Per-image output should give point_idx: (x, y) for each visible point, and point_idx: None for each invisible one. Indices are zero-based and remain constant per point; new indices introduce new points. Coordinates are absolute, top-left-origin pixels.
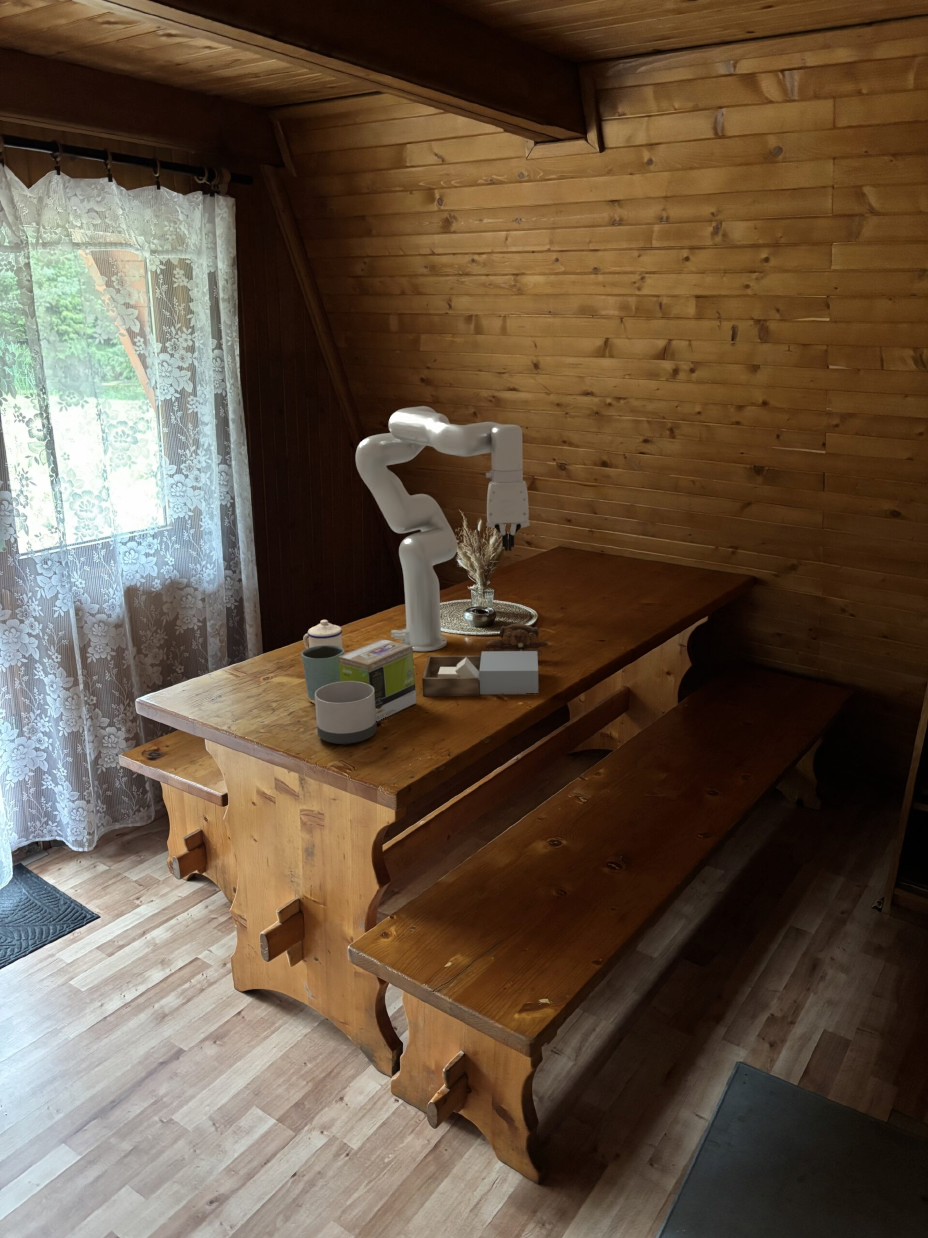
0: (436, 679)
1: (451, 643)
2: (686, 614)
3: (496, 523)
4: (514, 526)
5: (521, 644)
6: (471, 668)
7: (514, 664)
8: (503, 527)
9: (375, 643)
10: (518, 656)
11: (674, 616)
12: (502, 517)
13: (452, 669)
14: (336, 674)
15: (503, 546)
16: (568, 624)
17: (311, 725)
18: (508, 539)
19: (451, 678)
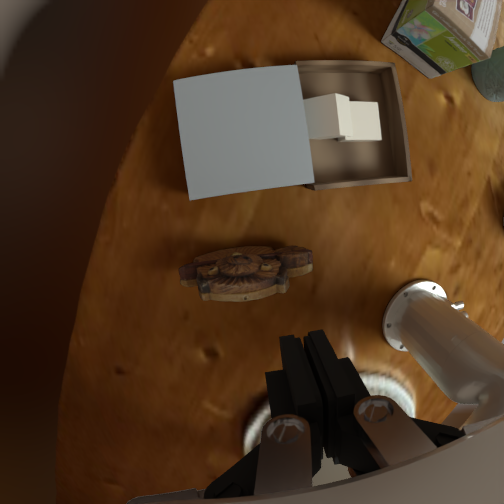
0: (371, 61)
1: (374, 330)
2: (58, 449)
3: (493, 421)
4: (274, 481)
5: (234, 254)
6: (320, 112)
7: (228, 106)
8: (392, 446)
9: (489, 32)
10: (226, 158)
11: (66, 446)
12: (474, 501)
13: (357, 126)
14: (497, 52)
15: (338, 359)
16: (189, 431)
17: None
18: (314, 380)
19: (345, 60)
